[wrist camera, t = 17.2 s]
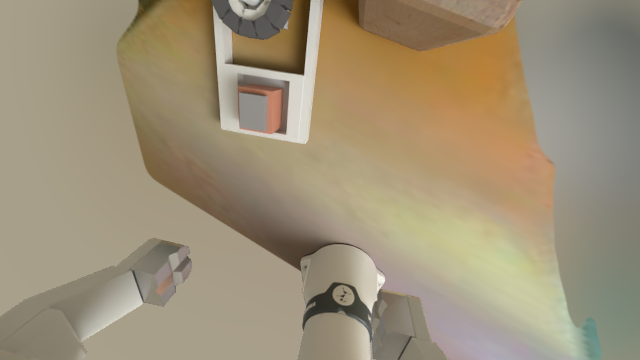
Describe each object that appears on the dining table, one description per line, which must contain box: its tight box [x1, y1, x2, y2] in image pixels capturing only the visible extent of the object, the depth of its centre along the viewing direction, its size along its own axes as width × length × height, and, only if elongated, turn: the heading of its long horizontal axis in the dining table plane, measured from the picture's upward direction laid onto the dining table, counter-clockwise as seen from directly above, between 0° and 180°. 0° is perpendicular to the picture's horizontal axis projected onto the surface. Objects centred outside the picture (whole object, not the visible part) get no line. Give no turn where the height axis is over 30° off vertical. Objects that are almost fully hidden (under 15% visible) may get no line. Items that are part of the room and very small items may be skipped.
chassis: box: [213, 0, 324, 144], centre depth 31 cm, size 22×14×9 cm, turn 173°
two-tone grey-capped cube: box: [238, 84, 283, 134], centre depth 35 cm, size 6×5×6 cm
